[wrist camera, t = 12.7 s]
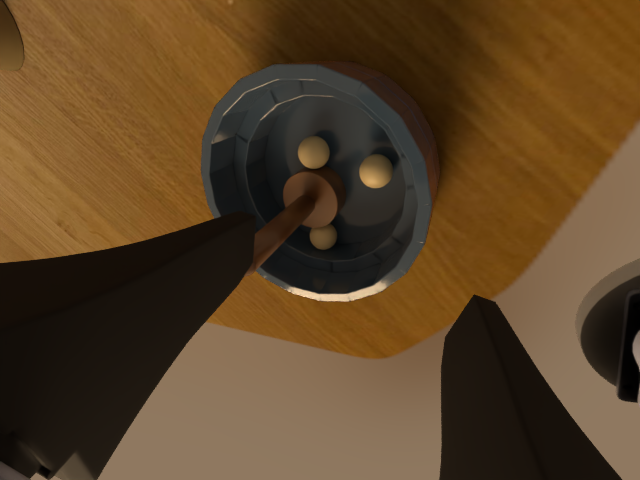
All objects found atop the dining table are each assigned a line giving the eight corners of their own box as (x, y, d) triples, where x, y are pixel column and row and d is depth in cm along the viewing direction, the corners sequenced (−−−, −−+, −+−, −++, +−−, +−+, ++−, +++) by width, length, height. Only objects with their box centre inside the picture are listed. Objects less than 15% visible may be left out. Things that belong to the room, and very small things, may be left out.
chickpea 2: (342, 229, 21) (338, 254, 20) (317, 229, 22) (313, 253, 21) (334, 217, 19) (330, 243, 19) (308, 217, 20) (303, 243, 20)
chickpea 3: (398, 178, 17) (392, 190, 16) (368, 184, 18) (360, 195, 17) (392, 147, 17) (385, 156, 15) (360, 154, 18) (351, 163, 16)
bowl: (453, 250, 19) (449, 302, 15) (287, 261, 25) (253, 300, 21) (419, 20, 14) (399, 8, 10) (224, 100, 20) (163, 112, 16)
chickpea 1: (318, 144, 19) (340, 147, 18) (306, 171, 19) (327, 176, 18) (299, 128, 18) (322, 131, 16) (286, 157, 18) (308, 162, 16)
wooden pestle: (352, 213, 20) (286, 305, 13) (304, 220, 21) (222, 304, 14) (336, 158, 18) (252, 226, 11) (286, 170, 20) (185, 235, 13)
